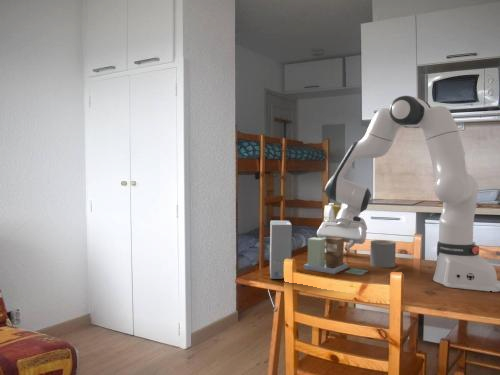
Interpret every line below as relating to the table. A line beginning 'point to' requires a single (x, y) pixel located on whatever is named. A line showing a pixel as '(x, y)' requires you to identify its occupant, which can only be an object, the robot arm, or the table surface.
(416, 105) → the robot arm
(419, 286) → the table surface
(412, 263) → the table surface
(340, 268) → the parts tray
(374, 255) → the coffee mug
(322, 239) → the sage box
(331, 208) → the juice carton
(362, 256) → the table surface
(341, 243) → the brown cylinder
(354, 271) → the felt pad
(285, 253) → the hard drive box
